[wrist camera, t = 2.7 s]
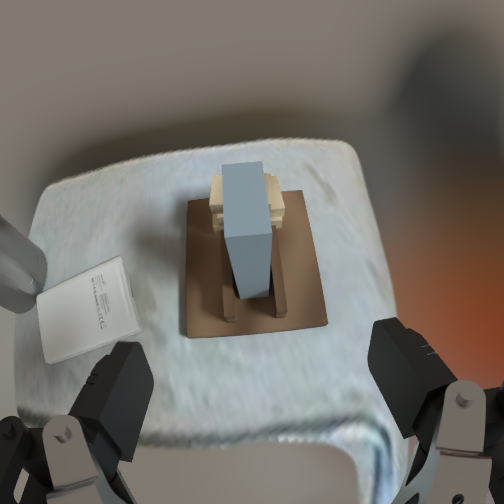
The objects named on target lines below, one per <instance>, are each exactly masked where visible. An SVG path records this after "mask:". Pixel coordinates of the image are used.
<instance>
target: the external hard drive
mask: <svg viewBox="0 0 504 504" xmlns="http://www.w3.org/2000/svg"><path fill="white" fill-rule="evenodd" d="M130 288H131V284H130V280H129V276H128V272H127V267H126V263H125V259H124V258H123V257H122V256H118V257H116V258H114V259H112V260H109V261H107V262H105V263H103V264H101V265H98V266H96V267H94V268H92V269H90V270H88V271H85V272H83V273H81V274H79V275H77V276H75V277H73V278H71V279H69V280H67V281H65V282H62V283H60V284H58V285H56V286H54V287H52V288H50V289H48V290H46V291H44V292H43V293H41V294H39V295H37V298H36V299H37V311H38V320H39V328H40V336H41V342H42V348H43V354H44V358H45V362H46V363H47V364H51V365H52V364H55V363H58V362H61V361H64V360H67V359H69V358H72V357H75V356H78V355H81V354H84V353H86V352H89V351H92V350H95V349H98V348H100V347H103V346H106V345H108V344H111V343H114V342H116V341H119V340H122V339H124V338H127V337H130V336H132V335H135V334H138V333H140V332H143V328H142V325H141V322H140V318H139V315H138V311H137V307H136V304H135V300H134V299H133V296H132V293H131V289H130Z"/></svg>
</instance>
